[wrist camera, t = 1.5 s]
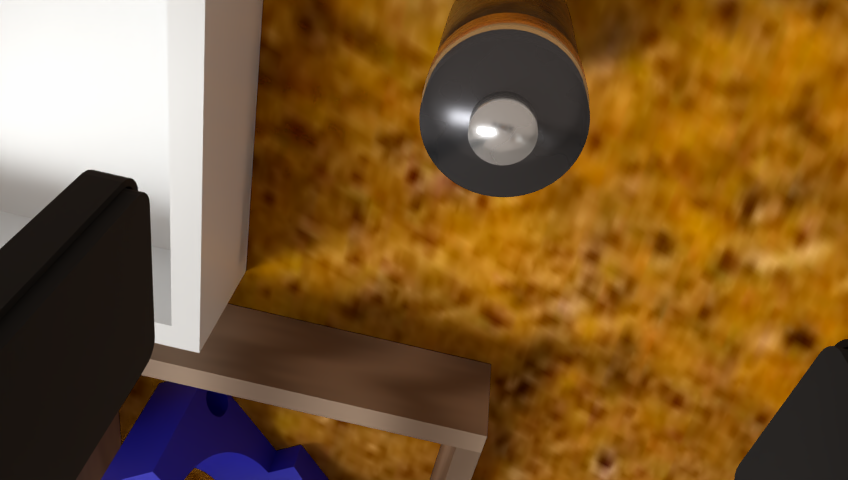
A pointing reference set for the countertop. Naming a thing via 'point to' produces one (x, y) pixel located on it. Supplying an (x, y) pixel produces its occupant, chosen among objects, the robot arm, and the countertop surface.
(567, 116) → the battery cell
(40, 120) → the bin
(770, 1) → the countertop surface
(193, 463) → the cable clip
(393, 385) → the brown hollow square frame
